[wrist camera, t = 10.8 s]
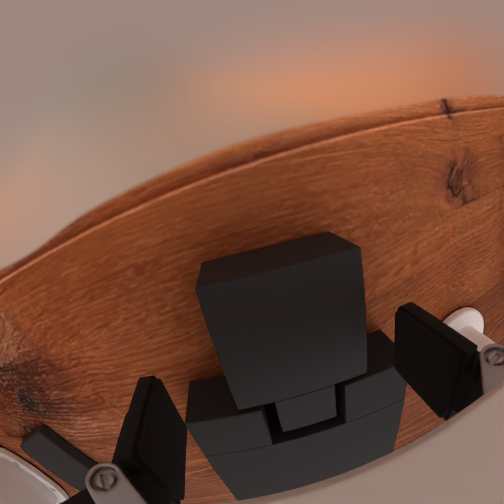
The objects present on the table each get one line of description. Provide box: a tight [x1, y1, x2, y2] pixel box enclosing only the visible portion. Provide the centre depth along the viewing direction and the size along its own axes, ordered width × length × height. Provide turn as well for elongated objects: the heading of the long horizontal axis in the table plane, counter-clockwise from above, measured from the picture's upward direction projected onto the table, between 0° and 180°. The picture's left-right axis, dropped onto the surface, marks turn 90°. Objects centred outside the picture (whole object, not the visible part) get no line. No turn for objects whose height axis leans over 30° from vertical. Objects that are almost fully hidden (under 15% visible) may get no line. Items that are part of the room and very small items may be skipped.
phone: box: [20, 425, 97, 491], centre depth 17 cm, size 8×1×15 cm
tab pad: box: [195, 232, 367, 432], centre depth 13 cm, size 9×6×4 cm
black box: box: [185, 330, 407, 501], centre depth 15 cm, size 12×12×4 cm
